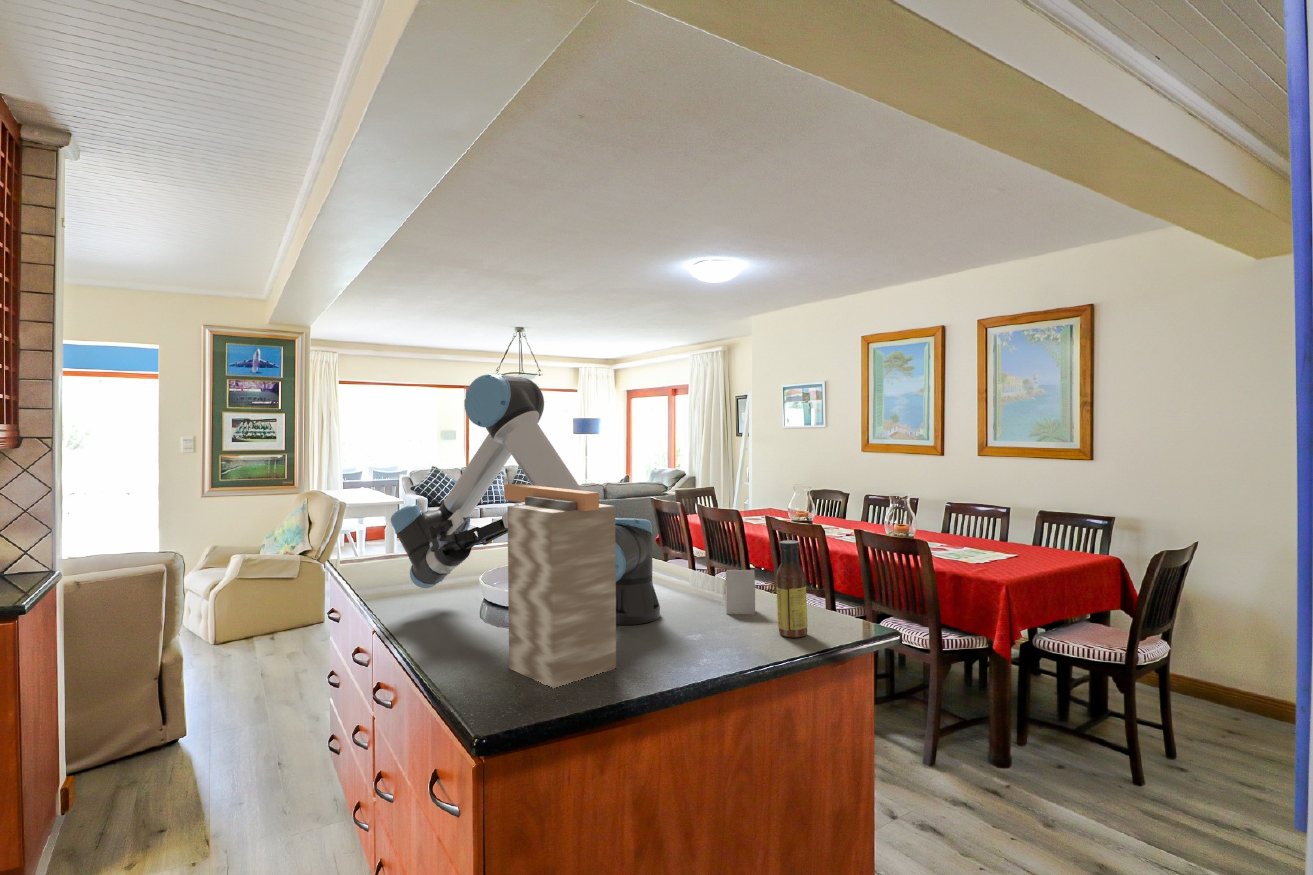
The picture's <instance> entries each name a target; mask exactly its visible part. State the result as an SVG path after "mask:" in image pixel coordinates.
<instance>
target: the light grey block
mask: <svg viewBox="0 0 1313 875" xmlns="http://www.w3.org/2000/svg"><path fill="white" fill-rule="evenodd" d="M755 573H756V572H755V569H741V570H740V569H739V570H738V569H726V570H725V614H726V615H756V578H755V576H756V575H755Z"/></svg>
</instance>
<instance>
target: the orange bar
mask: <svg viewBox="0 0 1313 875" xmlns="http://www.w3.org/2000/svg"><path fill="white" fill-rule="evenodd" d="M503 485H504V494H503V495H504V498H503V499H504V501H510V502H519V503H524V504H525V496H534V497H542V498H550V499H558V500H566V501H574V502H576V510H581V511H590V510H599V504H600V492H598V491H588V490H582V491H580V490H571V489H562V488H552V487H543V486H533V485H531V484H523V483H509V484H503Z"/></svg>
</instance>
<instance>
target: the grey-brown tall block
mask: <svg viewBox="0 0 1313 875" xmlns="http://www.w3.org/2000/svg"><path fill="white" fill-rule="evenodd" d="M514 505H515V504H514ZM514 505H508V506H507V512H508V533H507V572H508V573H507V574H508V576H507V580H508V581H507V585H508V588H507V589H508V590H507V595H508V596H507V597H508V598H507V599H508V600H507V601H508V669H510V670H511V671H513V672H514V671H515V672H516V673H519V674H521V675H522V676H525V677H527V678H529V679H531V678H532V680H533V679H534V682H535V681H536V682H538V681H539V682H538V683H540V682H541V683H540V684H542V685H544V686H546V685H548V686H550V687H549V688H551V687H552V688H551V689H553V690H555V689H557V688H556V687H558V688H560V687H559V686H561V685H564V686H567V685H569V684H568V683H570V682H573V681H576V682H579V681H582V680H581V679H583V680H585V679H584V678H586V677H589V676H592V677H594V675H595V676H597V675H596V674H598V675H601V674H603V673H602V672H604V673H606V672H610V671H612V670H616V669H617V624H616V557H615V518H616V505H611V504H602V503H599V510H590V511H581V510H576V502H574V501H566V500H558V499H550V498H542V497H534V496H525V503H524V504H519V505H515V506H514ZM615 668H616V669H615ZM600 673H601V674H600ZM589 678H590V677H589ZM586 679H587V678H586ZM578 680H579V681H578ZM573 683H574V682H573ZM566 684H567V685H566ZM570 684H571V683H570ZM548 686H547V687H548ZM561 687H562V686H561ZM554 688H555V689H554Z"/></svg>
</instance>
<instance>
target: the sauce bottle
mask: <svg viewBox="0 0 1313 875" xmlns="http://www.w3.org/2000/svg"><path fill="white" fill-rule="evenodd" d="M779 549H780V564H779V566H778V568H777V570H776V573H775V574H776V576H775V577H776V610H777V612H776V613H777V616H776V617H777V627H778V631H779V635H781V637H787V638H793V639H797V638H803V637H805V636H806V635H808V604H807V602H808V601H807V584H806V575H805V574H806V573H805V572H804V569H803V568H802V565H801V564H800V558H799V556H800V554H799V549H800V542H799V541H798V540H790V539H789V540H782V541H780V542H779Z"/></svg>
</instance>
